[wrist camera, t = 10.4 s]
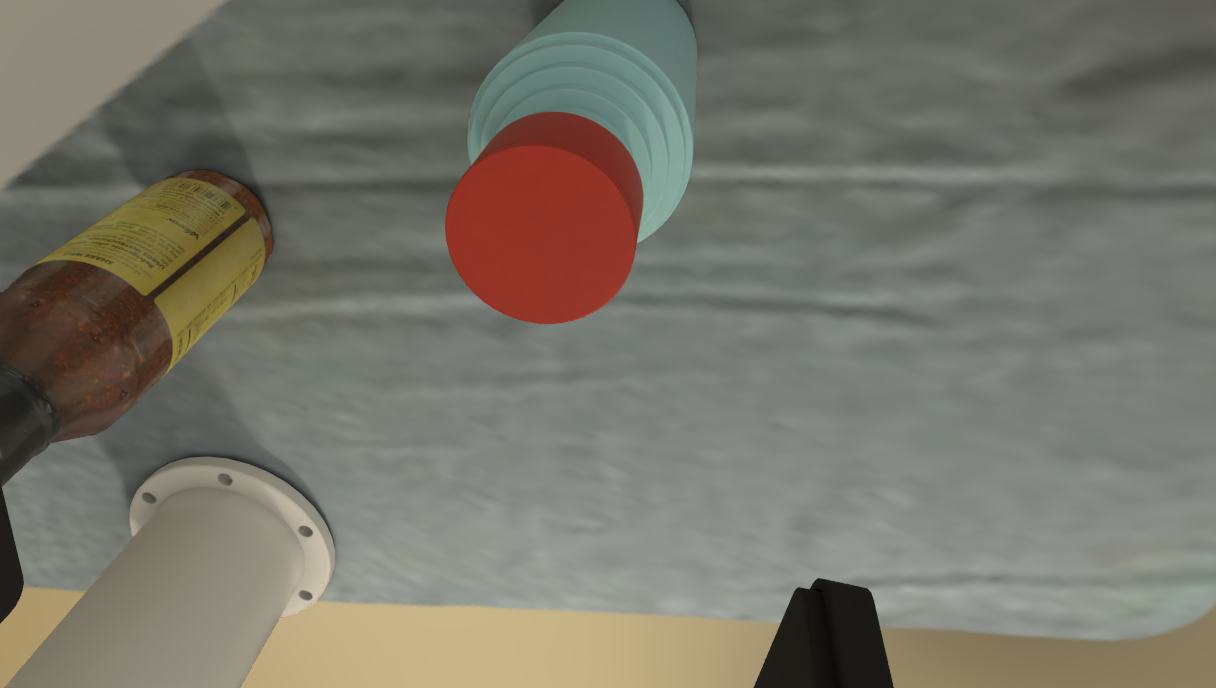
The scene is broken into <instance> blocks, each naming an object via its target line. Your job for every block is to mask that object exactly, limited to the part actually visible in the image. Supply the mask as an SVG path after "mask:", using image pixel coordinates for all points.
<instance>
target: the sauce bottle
mask: <svg viewBox="0 0 1216 688" xmlns="http://www.w3.org/2000/svg"><path fill="white" fill-rule="evenodd" d="M273 244H274V240H273V235H272V228H271V226H270V223H269V221H268V218H267V215H266V213H265V212H264V210H263V207H262V205H261V204H260V202H259V200H258V199H257V198H256V197H255V196H254V195H253V194H252V192H250V191H249V190H248V189H247V188H246V187H244V186H242V185H241V184H240V183H238V182H236V181H234V180H232V179H231V178H230V177H228V176H226V175H224V174H221V173H217V172H214V171H211V170H200V169H199V170H192V171H185V172H181V173H178V174H175V175H172V176H170V177H167V178H166V179H165V180H163V181H160V182H157V183H155V184H153V185H152V186H150V187H149V188H147V189H146V190H144V191H143V192H141V193H140V194H138V195H137V196H135V197H134V198H132V199H131V200H129V201H128V202H126V203H125V204H123V205H122V206H120V207H119V208H118V209H116V210H115V211H113V212H112V213H110V214H109V215H107V216H106V217H105V218H103V219H102V220H100V221H99V222H97V223H96V224H94V225H93V226H91V227H90V228H88V229H87V230H85V231H84V232H82V233H81V234H79V235H78V236H76V237H75V238H73V239H72V240H70V241H69V242H67V243H66V244H64V245H63V246H61V247H60V248H58V249H57V250H55V251H54V252H53V253H51V254H50V255H48V256H47V257H45V258H44V259H42V260H41V261H39V262H38V263H36V264H35V265H33V266H32V267H30V268H29V269H28V270H26V271H25V272H24V273H23V274H22V275H21V276H19V277H18V278H17V279H16V280H15V281H14V282H13V283H12V284H11V285H10V287H9V288H8V289H6V290H5V291H4V292H2V293H0V482H1V487H2V486H3V485H4V484H5V483H6V482H7V481H8V480H9V479H10V478H11V477H12V476H13V475H14V474H15V473H17V472H18V471H19V470H20V469H21V468H22V467H23V466H24V465H25V464H26V463H27V462H28V461H29V460H30V459H31V458H32V457H33V456H36V455H38V454H40V453H41V452H43V451H44V450H45V449H46V448H47V447H48V446H49V445H50V443H53V442H59V441H64V440H69V439H74V438H79V437H84V436H90V435H95V434H97V433H99V432H101V431H103V430H105V429H107V428H108V427H110V426H111V425H112V424H113V423H114V422H115V421H116V420H117V419H119V418H120V417H121V416H122V415H123V414H124V413H125V412H127V411H128V410H129V409H130V408H131V407H132V406H133V405H135V404H136V403H137V401H138V399H139V398H140V397H141V396H142V395H143V394H144V393H145V392H146V391H147V390H148V389H149V388H150V387H151V386H153V385H154V384H156V383H157V382H159V381H160V380H161V379H162V378H163V377H164V376H165V375H166V374H167V373H168V372H169V371H170V370H171V368H172V367H173V366H174V365H175V364H176V363H177V362H178V361H179V360H180V359H181V358H182V357H183V356H184V355H185V354H186V353H187V352H188V350H189V349H190V348H191V347H192V346H193V345H194V344H195V343H196V342H197V341H198V340H199V339H200V338H201V337H202V336H203V335H204V334H205V332H206V331H207V330H208V329H209V328H210V327H211V326H212V325H213V324H214V323H215V322H216V321H217V320H218V319H219V318H220V317H221V316H222V315H223V314H224V313H225V312H226V311H227V310H228V309H229V308H230V307H231V306H232V305H233V304H234V303H235V302H236V301H237V300H238V299H239V298H240V296H241V295H242V294H243V293H244V292H245V291H246V290H247V289H248V288H249V287H250V286H251V285H252V284H253V283H254V282H255V281H256V280H257V279H258V277H259V275H260V273H261V271H262V268H263V266H264V265H265V263H266V261H267V259H268V257H269V255H270V254H271V252H272V249H273Z"/></svg>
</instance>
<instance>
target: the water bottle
mask: <svg viewBox="0 0 1216 688" xmlns="http://www.w3.org/2000/svg"><path fill="white" fill-rule="evenodd" d="M697 59H698V53H697V43H696V38H695V34H694V31H693V28H692V25H691V23H690V21H689V19H688V17H687V15H686V13H685V12H684V10H683V9H682V7H681V6H680V5H679V3H678V2H677V1H676V0H564V1H563V2H562V3H561V4H559V5H558V6H557V7H556V8H555V9H554V10H553V11H552V12H551V13H550V14H549V15H548V16H547V17H546V18H545V19H544V20H543V21H541V22H540V23H539V24H538V25H537V26H536V27H535V28H534V29H533V30H532V31H531V32H530V33H529V34H528V35H527V36H526V37H525V38H523V39H522V40H521V41H520V42H519V43H518V44H517V45H516V46H515V47H514V48H513V49H512V50H511V51H510V52H509V53H508V54H507V55H506V56H504V57H503V58H502V59H501V60H500V61H499V62H498V63H497V64H496V66H495V67H494V68H493V69H492V70H491V71H490V72H489V74H488V75H487V77H486V78H485V80H484V81H483V83H482V84H481V86H480V88H479V90H478V92H477V94H476V97H475V99H474V102H473V105H472V108H471V111H470V116H469V122H468V131H467V146H468V156H469V161H470V165H472V164H473V163H474V161H475V160H476V159H477V157H478V156H479V155H480V154H481V152H482V151H483V150H484V149H485V147H486V146H487V145H488V143H489V142H490V141H491V140H492V139H493V138H494V137H495V135H496V134H497V133H498V132H499V131H501V130H502V129H503V128H505V127H506V126H507V125H509V124H510V123H512V122H514V121H516V120H518V119H520V118H523V117H525V116H528V115H532V114H536V113H541V112H565V113H572V114H576V115H579V116H582V117H585V118H588V119H590V120H592V121H594V122H596V123H598V124H600V125H601V126H603V127H605V128H606V129H607V130H608V131H610V132H611V133H612V134H614V135H615V136H616V137H617V138H618V139H619V140H620V141H621V142H622V143H623V145H624V146H625V147H626V149H627V150H628V151H629V153H630V154H631V156H632V158H633V160H634V161H635V163H636V166H637V168H638V171H639V173H640V177H641V181H642V186H643V194H644V198H643V211H642V217H641V223H640V228H639V233H638V239H637V243H638V242H640V241H642V240H643V239H645V238H646V237H648V236H649V235H651V234H652V233H654V232H655V231H656V230H657V229H658V228H659V227H660V226H661V225H662V224H663V223H664V222H665V221H666V220H667V219H668V218H669V216H670V215H671V214H672V213H673V211H674V210H675V208H676V207H677V205H678V204H679V202H680V200H681V198H682V196H683V194H684V192H685V190H686V187H687V184H688V181H689V177H690V174H691V168H692V162H693V146H694V124H695V103H696V81H697Z"/></svg>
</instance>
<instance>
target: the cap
mask: <svg viewBox="0 0 1216 688" xmlns="http://www.w3.org/2000/svg"><path fill="white" fill-rule="evenodd" d="M643 198H644V194H643V186H642V181H641V177H640V173H639V171H638V168H637V166H636V163H635V161H634V160H633V158H632V156H631V154H630V153H629V151H628V150H627V149H626V147H625V146H624V145H623V143H622V142H621V141H620V140H619V139H618V138H617V137H616V136H615V135H614V134H612V133H611V132H610V131H608V130H607V129H606V128H605V127H603V126H601V125H600V124H598V123H596V122H594V121H592V120H590V119H588V118H585V117H582V116H579V115H576V114H572V113H565V112H541V113H536V114H532V115H528V116H525V117H523V118H520V119H518V120H516V121H514V122H512V123H510V124H509V125H507V126H506V127H505V128H503V129H502V130H501V131H499V132H498V133H497V134H496V135H495V137H494V138H493V139H492V140H491V141H490V142H489V143H488V145H487V146H486V147H485V149H484V150H483V151H482V152H481V154H480V155H479V156H478V157H477V159H476V160H475V161H474V163H473V164H472V165H471V166H470V168H469V169H468V170H467V172H466V173H465V174H464V175H463V177H462V178H461V180H460V181H459V182H458V184H457V185H456V187H455V189H454V191H453V193H452V195H451V198H450V201H449V204H448V208H447V213H446V224H445V231H446V241H447V245H448V249H449V253H450V256H451V258H452V261H453V264H454V266H455V268H456V269H457V271H458V273H459V275H460V276H461V278H462V279H463V281H464V282H465V283H466V285H467V286H468V287H469V288H470V289H471V290H472V291H473V293H474V294H476V295H477V296H478V297H479V298H480V299H481V300H482V301H484V302H485V303H486V304H488V305H489V306H491V307H492V308H494V309H496V310H497V311H499V312H501V313H503V314H505V315H508V316H510V317H513V318H515V319H519V320H522V321H526V322H532V323H539V324H556V323H564V322H569V321H574V320H577V319H580V318H583V317H585V316H587V315H589V314H591V313H593V312H595V311H597V310H598V309H600V308H601V307H603V306H604V305H605V304H606V303H608V302H609V301H610V300H611V299H612V298H613V297H614V296H615V295H616V294H617V292H618V291H619V290H620V289H621V287H622V285H623V284H624V282H625V281H626V279H627V277H628V275H629V272H630V270H631V267H632V264H633V260H634V255H635V250H636V244H637V239H638V233H639V228H640V223H641V217H642V211H643Z"/></svg>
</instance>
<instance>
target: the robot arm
mask: <svg viewBox="0 0 1216 688" xmlns="http://www.w3.org/2000/svg"><path fill="white" fill-rule="evenodd" d="M129 522H130V530H131V534H132V537H133V538H132V539H131V540H130V542H129V543H128V544H127V545H126V546H125V547H124V549H123V550H122V551H121V552H120V553H119V554H118V556H117V557H116V558H115V559H114V560H113V561H112V563H111V564H110V565H109V566H108V567H107V568H106V570H105V571H104V572H103V573H102V574H101V575H100V577H99V578H98V579H97V580H96V581H95V582H94V584H93V585H92V586H91V587H90V588H89V589H88V591H87V592H86V593H85V594H84V595H83V597H82V598H81V599H80V600H79V601H78V602H77V603H76V605H75V606H74V607H73V608H72V609H71V610H70V612H69V613H68V614H67V615H66V616H65V617H64V619H63V620H62V621H61V622H60V623H59V624H58V626H57V627H56V628H55V629H54V630H53V632H52V633H51V634H50V635H49V636H48V637H47V639H46V640H45V641H44V642H43V643H42V644H41V645H40V647H39V648H38V649H37V650H36V651H35V653H34V654H33V655H32V656H31V657H30V658H29V659H28V661H27V662H26V663H25V664H24V665H23V667H22V668H21V669H20V670H19V671H18V672H17V673H16V675H15V676H14V677H13V678H12V679H11V680H10V682H9V683H8V684H7V685H6V686H5V687H4V688H240V687H241V685H242V683H243V682H244V680H245V678H246V677H247V675H248V673H249V671H250V670H251V668H252V666H253V664H254V663H255V661H256V659H257V657H258V655H259V654H260V652H261V650H262V648H263V647H264V645H265V643H266V641H267V639H268V638H269V636H270V634H271V632H272V631H273V629H274V627H275V625H276V624H277V622H278V620H279V618H283V617H288V616H291V615H294V614H296V613H299V612H301V611H303V610H305V609H306V608H308V607H309V606H311V605H312V604H314V603H315V602H316V601H317V599H318V598H319V597H320V596H321V595H322V594H323V592H324V590H325V589H326V587H327V585H328V583H329V581H330V579H331V577H332V574H333V570H334V567H335V548H334V544H333V539H332V536H331V534H330V532H329V530H328V527H327V525H326V523H325V521H324V520H323V519H322V517H321V516H320V514H319V513H318V512H317V510H316V509H315V507H314V506H313V505H312V504H311V503H310V502H309V501H308V500H307V499H306V498H305V497H304V496H303V495H302V494H301V493H299V492H298V491H297V490H295V489H294V488H293V487H292V486H290V485H289V484H288V483H286V482H285V481H283V480H281V479H280V478H278V477H276V476H274V475H273V474H271V473H269V472H267V471H265V470H262V469H260V468H257V467H255V466H252V465H250V464H247V463H243V462H239V461H235V460H231V459H227V458H217V457H191V458H186V459H182V460H178V461H174V462H171V463H169V464H167V465H165V466H163V467H161V468H159V469H158V470H157V471H156V472H154V473H153V474H152V475H151V476H150V477H149V478H148V479H147V480H146V481H145V482H144V483H143V484H142V486H141V487H140V488H139V489H138V490H137V492H136V494H135V496H134V498H133V500H132V503H131V505H130V514H129ZM23 585H24V581H23V574H22V570H21V566H20V562H19V558H18V553H17V549H16V545H15V541H14V537H13V533H12V528H11V524H10V520H9V516H8V512H7V507H6V503H5V499H4V495H3V491H2V487H1V482H0V623H1V622H2V621H3V620H4V619H5V618H6V617H7V616H8V615H9V614H10V612H11V611H12V610H13V609H14V607H15V606H16V604H17V602H18V601H19V599H20V596H21V593H22V590H23ZM754 688H894V687H893V683H892V678H891V674H890V669H889V665H888V660H887V656H886V652H885V648H884V643H883V638H882V634H881V630H880V625H879V621H878V617H877V612H876V608H875V603H874V599H873V597H872V594H871V592H870V591H869V590H868V588H863V587H859V586H854V585H849V584H844V583H840V582H835V581H830V580H826V579H820V578H818V579H816V580H815V581H814V583H813V584H812V586H811V588H810V589H805V588H800V587H798V588H797V589H796V590H795V592H794V593H793V595H792V598H791V600H790V603H789V605H788V607H787V610H786V612H785V614H784V617H783V619H782V622H781V624H780V626H779V629H778V631H777V634H776V636H775V638H774V641H773V643H772V645H771V648H770V650H769V652H768V655H767V657H766V659H765V662H764V664H763V667H762V669H761V671H760V674H759V676H758V678H757V681H756V683H755V686H754Z"/></svg>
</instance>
